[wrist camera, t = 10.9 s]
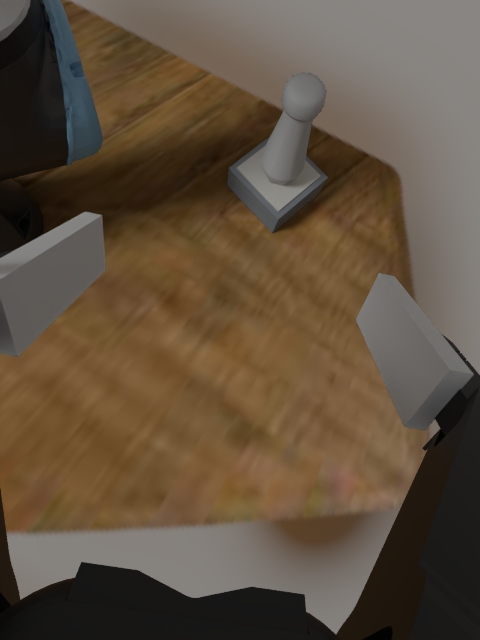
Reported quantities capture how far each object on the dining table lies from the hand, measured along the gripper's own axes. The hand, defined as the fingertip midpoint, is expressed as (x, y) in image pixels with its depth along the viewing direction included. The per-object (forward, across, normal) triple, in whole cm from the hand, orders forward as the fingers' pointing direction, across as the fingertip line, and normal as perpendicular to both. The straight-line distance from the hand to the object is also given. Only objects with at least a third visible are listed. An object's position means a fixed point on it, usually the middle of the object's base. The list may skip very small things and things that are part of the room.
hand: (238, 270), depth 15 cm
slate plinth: (+36, +4, -3) cm, 37 cm away
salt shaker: (+34, +4, 0) cm, 34 cm away
